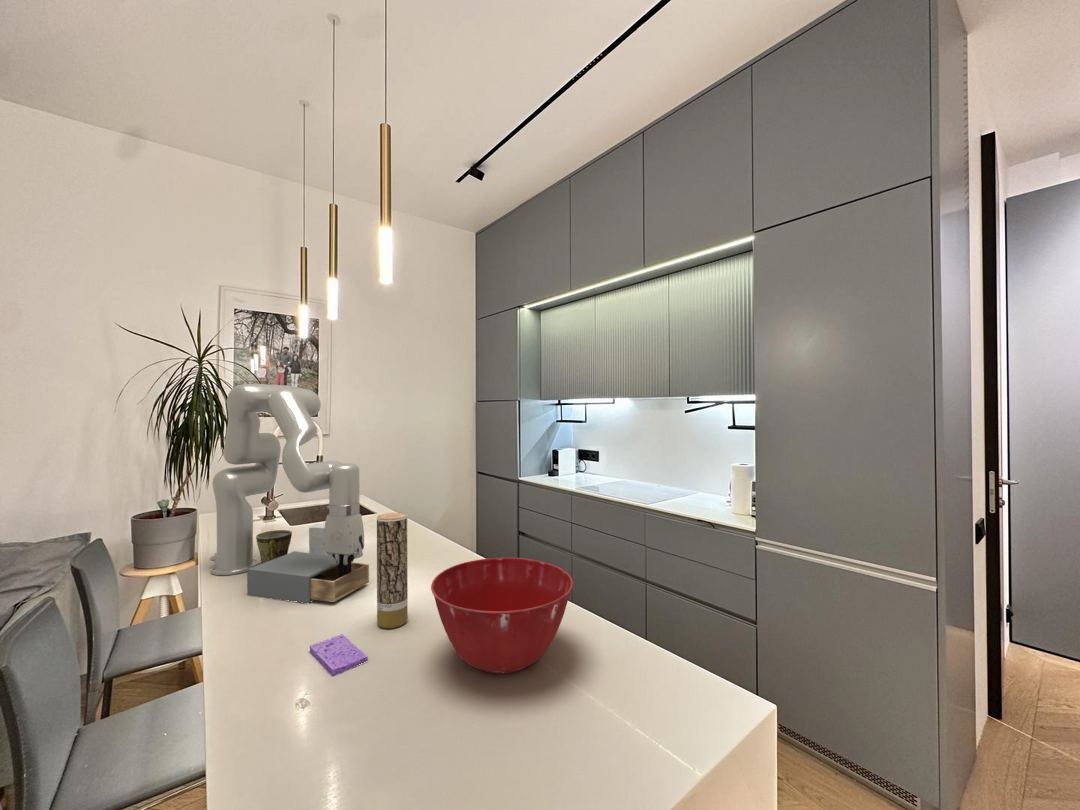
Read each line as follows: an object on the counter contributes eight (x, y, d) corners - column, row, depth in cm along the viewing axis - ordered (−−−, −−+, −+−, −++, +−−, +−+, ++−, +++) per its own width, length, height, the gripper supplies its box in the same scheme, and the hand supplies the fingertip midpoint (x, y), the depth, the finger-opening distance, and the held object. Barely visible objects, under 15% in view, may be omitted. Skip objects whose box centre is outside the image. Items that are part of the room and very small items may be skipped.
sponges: (342, 642, 101) (342, 633, 102) (368, 664, 93) (368, 655, 93) (308, 654, 97) (308, 645, 97) (332, 679, 88) (332, 669, 88)
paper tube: (398, 631, 105) (398, 520, 105) (371, 628, 107) (370, 518, 107) (412, 617, 112) (412, 513, 112) (386, 615, 113) (386, 512, 113)
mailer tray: (274, 593, 124) (274, 574, 124) (313, 575, 138) (313, 558, 138) (333, 602, 119) (333, 582, 119) (368, 582, 132) (368, 564, 132)
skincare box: (333, 561, 153) (333, 524, 153) (326, 565, 149) (326, 527, 149) (316, 560, 154) (316, 524, 154) (308, 564, 150) (308, 527, 150)
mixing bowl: (596, 642, 100) (595, 570, 100) (524, 719, 75) (523, 623, 75) (489, 613, 114) (489, 549, 114) (400, 670, 90) (399, 589, 90)
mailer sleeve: (247, 595, 126) (247, 569, 126) (294, 574, 141) (294, 551, 141) (308, 604, 120) (308, 576, 120) (350, 581, 135) (350, 557, 135)
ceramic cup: (258, 562, 152) (258, 531, 152) (292, 558, 156) (292, 528, 156) (252, 575, 140) (252, 542, 140) (290, 570, 144) (290, 538, 144)
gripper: (311, 511, 125) (311, 580, 125) (358, 514, 120) (359, 586, 120) (331, 505, 132) (331, 570, 132) (376, 508, 128) (377, 575, 128)
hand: (344, 577), depth 126 cm, fingers closed
